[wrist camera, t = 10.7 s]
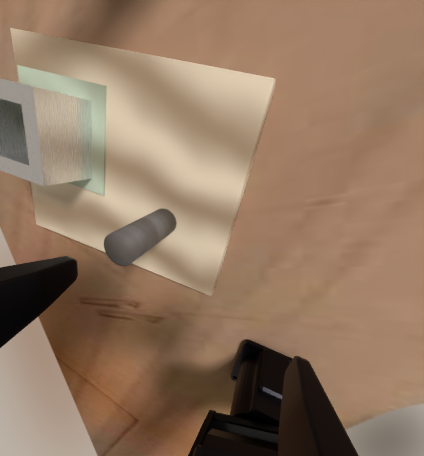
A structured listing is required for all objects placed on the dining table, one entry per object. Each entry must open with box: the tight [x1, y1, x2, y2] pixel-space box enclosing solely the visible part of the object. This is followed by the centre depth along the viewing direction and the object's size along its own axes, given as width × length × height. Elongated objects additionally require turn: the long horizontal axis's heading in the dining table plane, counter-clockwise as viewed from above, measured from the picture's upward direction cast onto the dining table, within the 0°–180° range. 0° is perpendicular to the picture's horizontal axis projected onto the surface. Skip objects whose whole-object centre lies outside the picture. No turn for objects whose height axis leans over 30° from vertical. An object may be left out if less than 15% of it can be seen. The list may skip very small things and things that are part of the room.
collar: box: [0, 78, 92, 186], centre depth 17 cm, size 6×6×4 cm
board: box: [10, 28, 276, 296], centre depth 17 cm, size 18×22×8 cm
